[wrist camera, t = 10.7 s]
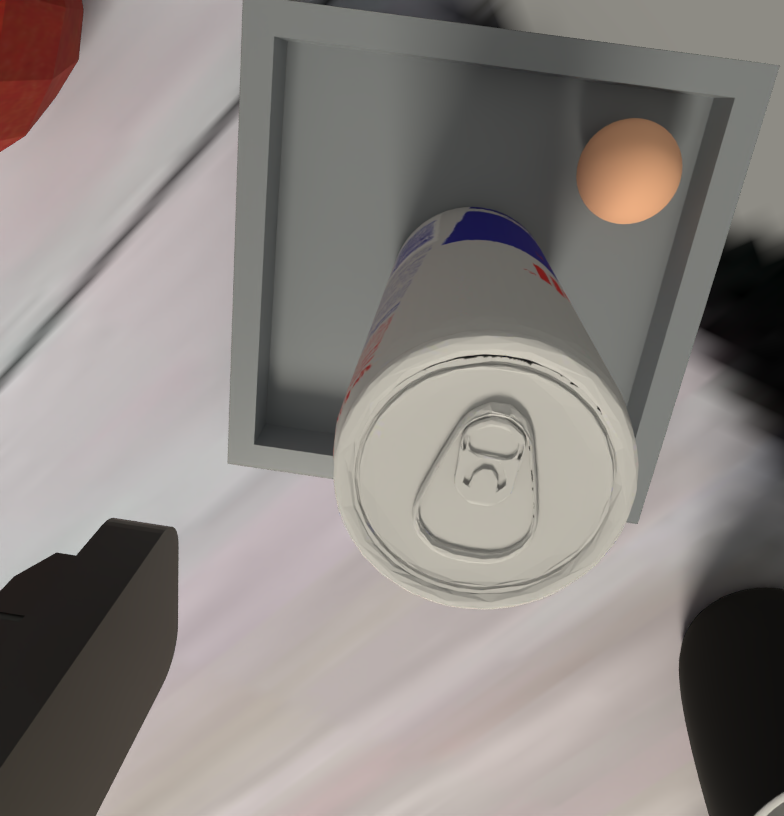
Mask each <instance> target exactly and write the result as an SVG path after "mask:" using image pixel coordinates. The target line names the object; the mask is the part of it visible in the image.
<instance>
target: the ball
mask: <svg viewBox="0 0 784 816" xmlns="http://www.w3.org/2000/svg"><path fill="white" fill-rule="evenodd" d="M682 167H683V166H682V156H681V152H680V149H679V146H678V144H677V142H676V140H675V139H674V138H673V136H672V135H671V134H670V133H669V132H668V131H667V130H666V129H665V128H664V127H662V126H661V125H659V124H657V123H655V122H653V121H650V120H646V119H642V118H629V119H623V120H619V121H616V122H613V123H611V124H609V125H607V126H605V127H604V128H602V129H601V130H600V131H598V132H597V133H596V134H595V135H594V136H593V137H592V138H591V139H590V140H589V142H588V143H587V144H586V146H585V148H584V149H583V151H582V153H581V156H580V158H579V162H578V166H577V174H576V180H577V187H578V191H579V194H580V196H581V198H582V200H583V202H584V204H585V205H586V206H587V208H588V209H589V210H590V211H591V212H592V213H593V214H595V215H596V216H598V217H599V218H601V219H603V220H605V221H608V222H611V223H616V224H632V223H637V222H641V221H644V220H646V219H648V218H651V217H652V216H654V215H656V214H657V213H658V212H660V211H661V210H662V209H663V208H664V207H665V206H666V205H667V204H668V203H669V202H670V200H671V199H672V198H673V196H674V194H675V193H676V191H677V189H678V186H679V183H680V180H681V176H682Z"/></svg>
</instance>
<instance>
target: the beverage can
mask: <svg viewBox="0 0 784 816" xmlns="http://www.w3.org/2000/svg"><path fill="white" fill-rule="evenodd" d="M333 461H334V477H333V478H334V487H335V494H336V499H337V504H338V509H339V512H340V515H341V518H342V521H343V523H344V526H345V528H346V530H347V531H348V533H349V535H350V537H351V539H352V540H353V542H354V543H355V544H356V546H357V547H358V549H359V550H360V552H361V553H362V555H363V556H364V557H365V558H366V559H367V560H368V561H369V562H370V563H371V564H372V565H373V566H374V567H375V568H376V569H377V570H378V571H379V572H380V573H381V574H382V575H383V576H385V577H386V578H388V579H389V580H391V581H392V582H394V583H395V584H397V585H398V586H400V587H402V588H403V589H405V590H406V591H408V592H410V593H412V594H415V595H417V596H420V597H422V598H425V599H427V600H430V601H432V602H435V603H439V604H442V605H446V606H452V607H458V608H468V609H497V608H507V607H515V606H519V605H522V604H526V603H530V602H533V601H537V600H540V599H542V598H545V597H547V596H549V595H552V594H554V593H556V592H558V591H560V590H561V589H563V588H564V587H566V586H568V585H569V584H571V583H573V582H574V581H576V580H577V579H579V578H580V577H582V576H583V575H585V574H586V573H587V572H588V571H589V570H591V569H592V568H593V567H594V566H595V565H597V563H598V562H599V561H600V560H601V559H602V558H603V556H604V555H605V554H606V553H607V552H608V551H609V549H610V548H611V547H612V545H613V544H614V543H615V541H616V540H617V538H618V537H619V535H620V534H621V531H622V529H623V527H624V525H625V523H626V521H627V519H628V516H629V513H630V511H631V508H632V505H633V502H634V499H635V496H636V491H637V480H638V467H639V464H638V454H637V445H636V441H635V437H634V433H633V428H632V423H631V420H630V417H629V414H628V411H627V408H626V405H625V402H624V400H623V397H622V394H621V393H620V391H619V389H618V387H617V385H616V384H615V382H614V380H613V378H612V376H611V375H610V373H609V371H608V369H607V367H606V366H605V364H604V362H603V360H602V358H601V357H600V355H599V353H598V351H597V349H596V348H595V346H594V344H593V342H592V340H591V339H590V337H589V335H588V333H587V332H586V330H585V328H584V326H583V324H582V323H581V321H580V319H579V317H578V315H577V314H576V312H575V310H574V308H573V306H572V305H571V303H570V301H569V299H568V297H567V296H566V294H565V292H564V290H563V288H562V287H561V285H560V283H559V281H558V279H557V278H556V276H555V274H554V272H553V271H552V269H551V267H550V265H549V263H548V262H547V260H546V258H545V256H544V254H543V253H542V251H541V249H540V247H539V245H538V244H537V242H536V240H535V239H534V238H533V236H532V235H531V234H530V233H529V232H528V231H527V229H526V228H525V227H523V226H522V225H521V224H520V223H519V222H517V221H516V220H514V219H513V218H511V217H509V216H507V215H505V214H503V213H501V212H498V211H495V210H492V209H488V208H481V207H462V208H455V209H451V210H448V211H445V212H442V213H440V214H437V215H435V216H434V217H432V218H430V219H428V220H427V221H425V222H424V223H423V224H421V225H420V226H419V227H418V228H417V229H416V230H415V231H414V232H413V233H412V234H411V235H410V236H409V237H408V239H407V240H406V241H405V243H404V244H403V246H402V248H401V250H400V251H399V253H398V256H397V258H396V261H395V264H394V266H393V269H392V272H391V274H390V277H389V280H388V282H387V285H386V288H385V291H384V293H383V296H382V299H381V301H380V304H379V307H378V309H377V312H376V315H375V318H374V320H373V323H372V326H371V328H370V331H369V334H368V336H367V339H366V342H365V345H364V347H363V350H362V353H361V355H360V358H359V361H358V363H357V366H356V369H355V372H354V374H353V377H352V380H351V382H350V385H349V388H348V390H347V393H346V396H345V399H344V401H343V404H342V407H341V410H340V413H339V415H338V418H337V423H336V430H335V439H334V448H333Z"/></svg>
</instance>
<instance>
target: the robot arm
mask: <svg viewBox="0 0 784 816" xmlns="http://www.w3.org/2000/svg"><path fill="white" fill-rule="evenodd" d="M177 632H178V535H177V531H176V530H175V528H174V527H169V526H163V525H156V524H150V523H143V522H137V521H130V520H124V519H117V518H111V519H109V520H107V521H106V522H105V523H104V524H103V525H102V526H101V527H100V528H99V530H98V531H97V532H96V533H95V534H94V535H93V537H92V538H91V539H90V540H89V541H88V542H87V544H86V545H85V546H84V547H83V548H82V549H81V551H80V552H79V553H78V554H77V555H76V556H75V555H68V554H62V553H55V554H53V555H51V556H50V557H48V558H46V559H44V560H43V561H41V562H39V563H37V564H36V565H34V566H32V567H30V568H28V569H27V570H25V571H23V572H21V573H20V574H18V575H16V576H14V577H13V578H12V579H11V580H10V581H9V582H8V583H7V584H6V586H5V587H4V588H3V589H2V590H1V591H0V816H96V814H97V812H98V810H99V808H100V806H101V804H102V802H103V800H104V798H105V796H106V794H107V793H108V791H109V789H110V787H111V785H112V783H113V781H114V779H115V777H116V775H117V773H118V771H119V769H120V767H121V765H122V763H123V761H124V759H125V757H126V755H127V753H128V751H129V749H130V748H131V746H132V744H133V742H134V740H135V738H136V736H137V734H138V732H139V730H140V728H141V726H142V724H143V722H144V720H145V718H146V716H147V714H148V712H149V710H150V708H151V706H152V705H153V703H154V701H155V699H156V697H157V695H158V693H159V691H160V689H161V687H162V685H163V683H164V681H165V679H166V676H167V674H168V671H169V668H170V665H171V662H172V659H173V655H174V651H175V646H176V640H177Z"/></svg>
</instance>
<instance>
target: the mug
mask: <svg viewBox="0 0 784 816" xmlns="http://www.w3.org/2000/svg"><path fill="white" fill-rule="evenodd" d="M679 680H680V691H681V699H682V705H683V711H684V716H685V722H686V727H687V731H688V736H689V740H690V745H691V749H692V753H693V757H694V762H695V766H696V769H697V773H698V777H699V781H700V785H701V788H702V792H703V796H704V799H705V803H706V806H707V809H708V813H709V816H784V590H783V589H776V588H756V589H749V590H744V591H740V592H736V593H733V594H730V595H728V596H726V597H723V598H721V599H719V600H717V601H716V602H714V603H712V604H711V605H709V606H708V607H707V608H706V609H704V610H703V611H702V612H701V613H700V614H699V615H698V616H697V617H696V618H695V619H694V621H693V622H692V623H691V625H690V627H689V628H688V630H687V632H686V634H685V637H684V640H683V643H682V647H681V652H680V658H679Z"/></svg>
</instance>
